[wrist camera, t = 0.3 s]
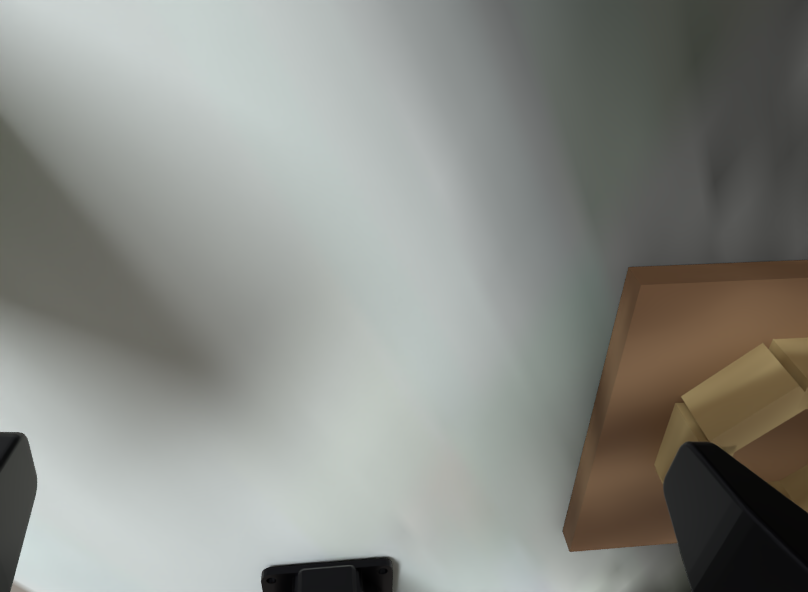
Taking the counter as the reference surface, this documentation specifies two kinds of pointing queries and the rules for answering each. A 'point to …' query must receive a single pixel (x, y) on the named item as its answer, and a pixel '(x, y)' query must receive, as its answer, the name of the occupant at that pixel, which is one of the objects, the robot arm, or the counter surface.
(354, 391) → the counter surface
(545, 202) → the counter surface
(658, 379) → the ring board
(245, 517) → the counter surface
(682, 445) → the robot arm
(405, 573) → the counter surface
